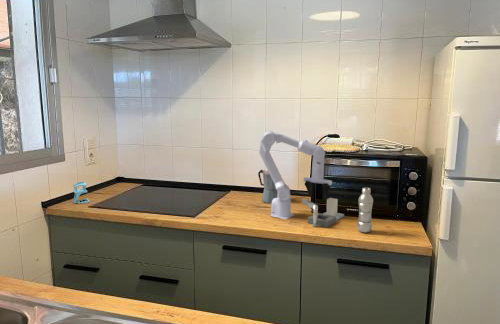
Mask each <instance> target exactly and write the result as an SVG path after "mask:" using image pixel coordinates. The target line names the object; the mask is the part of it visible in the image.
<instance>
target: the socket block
mask: <svg viewBox="0 0 500 324" xmlns="http://www.w3.org/2000/svg"><path fill="white" fill-rule="evenodd" d="M335 223H337V221H336V216H331V215H326V214H323V213H320V212H318V218H317V227H323V228H329V227H330V226H332V225H333V224H335ZM307 224H309V225H312V226H313V214H312V215H310V216H308V217H307Z"/></svg>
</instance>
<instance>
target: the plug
mask: <svg viewBox="0 0 500 324" xmlns="http://www.w3.org/2000/svg"><path fill="white" fill-rule="evenodd" d="M338 201H339V199H338V198H334V197H329V198H327V199H326V212H327V213H326V215H331V216H335V215H337V213H338Z"/></svg>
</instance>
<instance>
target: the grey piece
mask: <svg viewBox="0 0 500 324" xmlns="http://www.w3.org/2000/svg"><path fill="white" fill-rule="evenodd" d="M301 200H302V201H301V203H302V204H304V205H305V206H307V207H309V208H310V209H312V211H313V212H312V213H313V214H312V215H313V225H312V228H318V226H317V218H318V213H319V211H318V210H319V205H318V204H316V203H314V202H312V201H310V200H308V199H307V198H302V199H301Z"/></svg>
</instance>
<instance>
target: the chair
mask: <svg viewBox="0 0 500 324" xmlns="http://www.w3.org/2000/svg"><path fill="white" fill-rule="evenodd" d="M72 186H73V188H74V189H72V190H73V193H74V195H73V196H74V197H73V201H72V203H73V202H74V203H82V204H88V203H87V202H90V203H91V201H90V200H89V198H83V199H79V197H80V196H81V195H82V194H85V193H88V190H87V189H86V188H87V183H86V182H85V181H79V182H77V183H75V184H72ZM79 187H82V188H81V189H78V188H79ZM83 200H85V201H83ZM78 201H81V202H78ZM74 203H73V204H74Z"/></svg>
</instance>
